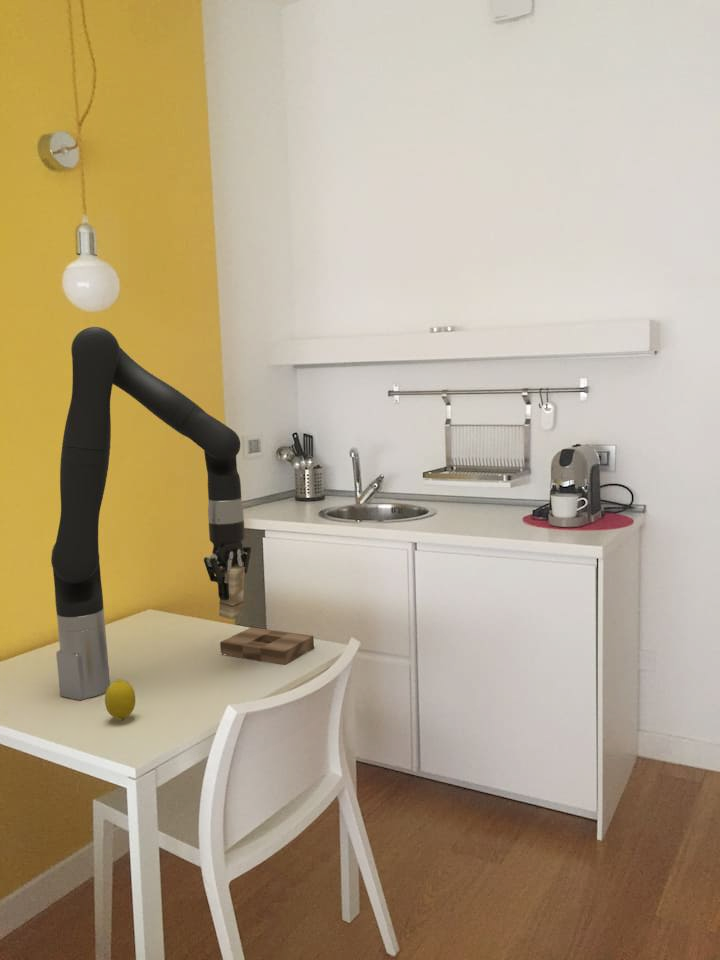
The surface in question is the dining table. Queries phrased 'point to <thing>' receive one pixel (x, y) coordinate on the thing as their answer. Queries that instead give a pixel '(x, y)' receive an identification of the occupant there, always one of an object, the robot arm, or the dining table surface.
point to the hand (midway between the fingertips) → (230, 596)
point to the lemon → (120, 699)
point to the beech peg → (233, 593)
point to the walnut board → (267, 645)
